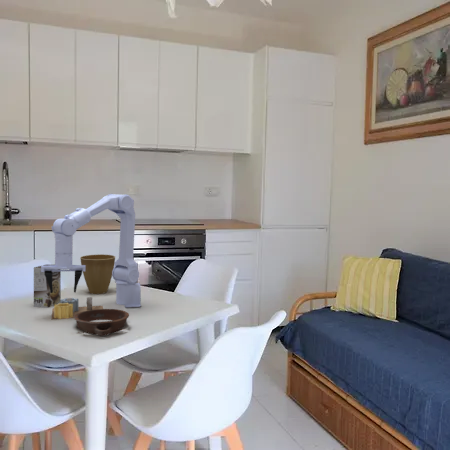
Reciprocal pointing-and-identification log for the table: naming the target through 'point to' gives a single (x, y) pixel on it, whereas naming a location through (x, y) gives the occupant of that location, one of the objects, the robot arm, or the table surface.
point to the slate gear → (74, 302)
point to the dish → (101, 327)
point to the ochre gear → (63, 310)
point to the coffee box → (46, 288)
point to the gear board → (80, 308)
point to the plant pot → (98, 272)
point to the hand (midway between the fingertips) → (63, 292)
